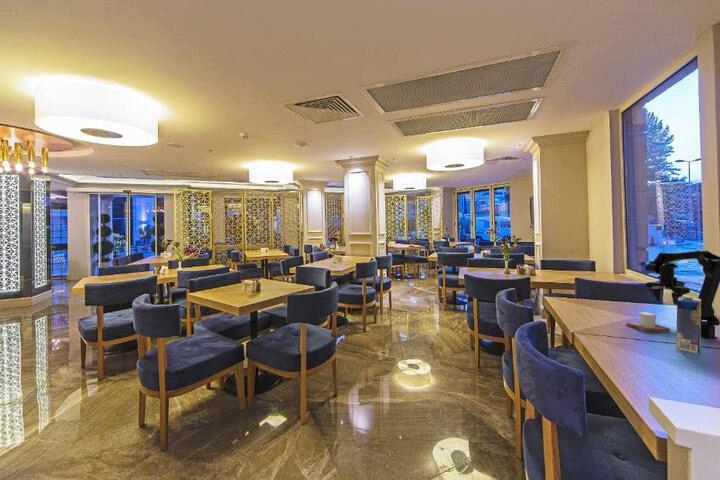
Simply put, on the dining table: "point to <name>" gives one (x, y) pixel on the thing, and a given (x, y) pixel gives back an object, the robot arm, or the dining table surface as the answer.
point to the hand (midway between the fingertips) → (666, 302)
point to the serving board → (648, 330)
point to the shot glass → (647, 319)
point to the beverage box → (688, 324)
